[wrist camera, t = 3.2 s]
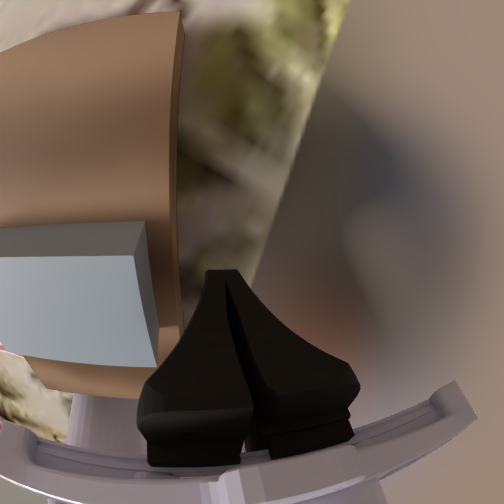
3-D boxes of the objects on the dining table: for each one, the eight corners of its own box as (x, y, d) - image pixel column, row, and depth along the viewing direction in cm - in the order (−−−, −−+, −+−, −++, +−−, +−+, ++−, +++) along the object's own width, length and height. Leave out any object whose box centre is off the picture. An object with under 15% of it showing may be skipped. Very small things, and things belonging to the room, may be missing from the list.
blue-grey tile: (159, 327, 13) (157, 367, 11) (21, 320, 12) (6, 351, 10) (145, 220, 10) (133, 255, 8) (-16, 229, 8) (-43, 257, 6)
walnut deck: (187, 357, 21) (189, 399, 18) (57, 351, 19) (47, 388, 15) (184, 34, 10) (179, 11, 6) (-10, 76, 7) (-53, 82, 4)
